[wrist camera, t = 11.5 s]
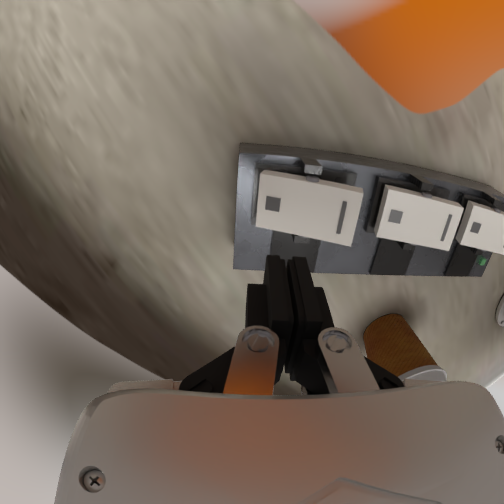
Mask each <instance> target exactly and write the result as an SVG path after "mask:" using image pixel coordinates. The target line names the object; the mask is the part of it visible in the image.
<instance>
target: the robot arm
mask: <svg viewBox="0 0 504 504" xmlns="http://www.w3.org/2000/svg"><path fill="white" fill-rule="evenodd" d="M496 321H497V323H498V324H499V325H500V326H502V327H504V295H503V297H502V299H501V301H500V303H499V305H498V308H497V311H496ZM284 366H285V373H290V381H297V382H298V383H299V384H301V385H302V386H301V392H302V395H273V388H274V385H275V384H276V383H277V382H278V381H279V380H280V376H281V373H282V371H283V367H284ZM102 472H103V473H102ZM54 504H504V417H503V415H502V413H501V411H500V409H499V407H498V405H497V403H496V401H495V400H494V398H493V396H492V395H491V394H490V392H488V391H487V389H486V388H484V387H483V386H481V385H478V384H475V383H471V382H466V381H444V382H442V381H430V380H417V379H404V380H403V381H401V380H400V379H399V378H398V377H397V376H396V375H394V374H392V373H391V372H389V371H387V370H386V369H384V368H382V367H381V366H379V365H378V364H376V363H374V362H373V361H371V360H369V359H368V358H366V357H365V356H363V354H362V352H361V350H360V348H359V346H358V344H357V342H356V341H355V339H354V337H353V336H352V335H351V334H350V333H349V332H348V331H346V330H344V329H341V328H337V327H334V323H333V320H332V316H331V313H330V310H329V306H328V303H327V299H326V296H325V293H324V290H323V288H322V287H314V285H313V281H312V277H311V274H310V270H309V266H308V263H307V259H306V257H297V256H293V257H292V259H288V260H287V266H286V265H285V260H284V259H280V256H279V255H267V256H266V264H265V273H264V282H263V284H248V287H247V300H246V321H245V329H243V330H242V331H241V332H240V333H239V335H238V338H237V342H236V345H235V347H233V348H232V349H230V350H229V351H227V352H225V353H224V354H222V355H221V356H219V357H218V358H216V359H214V360H213V361H211V362H210V363H208V364H207V365H205V366H203V367H202V368H200V369H198V370H197V371H195V372H194V373H192V374H190V375H189V376H187V377H186V378H185V379H184V380H183V381H177V382H173V379H167V380H150V381H123V382H118V383H116V384H114V385H112V386H111V388H110V389H109V390H108V393H107V394H104V395H101V396H99V397H97V398H95V399H94V400H92V401H91V402H90V403H89V404H88V405H87V406H86V408H85V409H84V411H83V412H82V414H81V416H80V417H79V419H78V422H77V424H76V426H75V429H74V431H73V434H72V436H71V439H70V441H69V445H68V448H67V451H66V455H65V458H64V461H63V465H62V469H61V473H60V477H59V482H58V487H57V492H56V497H55V503H54Z"/></svg>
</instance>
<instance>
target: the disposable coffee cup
mask: <svg viewBox="0 0 504 504" xmlns="http://www.w3.org/2000/svg"><path fill="white" fill-rule="evenodd" d="M363 339H364V343H365V348H366V353H367V358H368V359H369V360H371V361H373V362H374V363H376V364H378V365H379V366H381V367H382V368H384V369H386V370H387V371H389V372H391V373H392V374H394V375H396V376H397V377H398V378H399V379H400V380H401V381H403V380H404V379H417V380H430V381H442V382H444V381H446V379H447V373H446V372H445V370H443V369H441V367H439V366H438V365H437V364H436V362H435V361H434V360H433V358H432V357H431V355H430V354H429V352H428V351H427V349H426V348H425V347H424V345H423V344H422V343H421V341H420V340H419V338H418V337H417V336H416V334H415V333H414V332H413V330H412V329H411V327H410V326H409V325H408V324H407V322H406V321H405V319H404V318H403V317H402V316H401V315H398V314H389V315H385V316H382V317H380V318H378V319H376V320H375V321H374V322H372V323H371V324H370V325H369V326H368V327H367V329H366V330H365V332H364V336H363Z"/></svg>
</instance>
